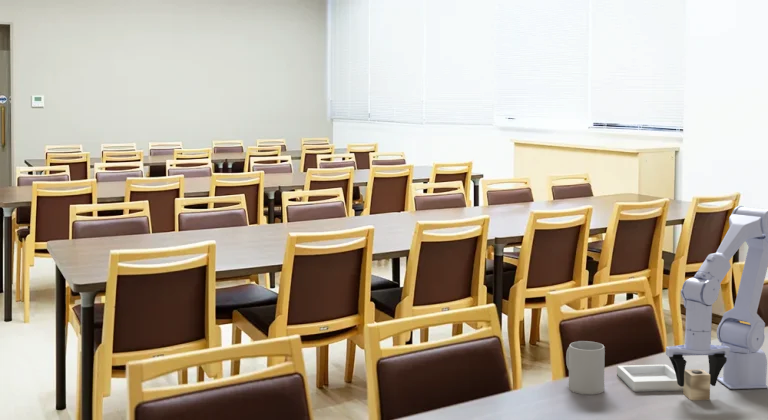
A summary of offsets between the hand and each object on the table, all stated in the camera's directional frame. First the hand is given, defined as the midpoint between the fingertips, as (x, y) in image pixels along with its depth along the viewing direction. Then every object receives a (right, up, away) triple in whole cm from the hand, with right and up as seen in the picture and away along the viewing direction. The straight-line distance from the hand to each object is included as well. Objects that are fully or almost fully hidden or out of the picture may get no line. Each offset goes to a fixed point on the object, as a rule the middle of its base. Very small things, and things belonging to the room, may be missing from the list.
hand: (696, 384), depth 199 cm
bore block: (0, -3, 0) cm, 3 cm away
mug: (-25, -3, +8) cm, 27 cm away
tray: (-7, -2, +11) cm, 13 cm away
